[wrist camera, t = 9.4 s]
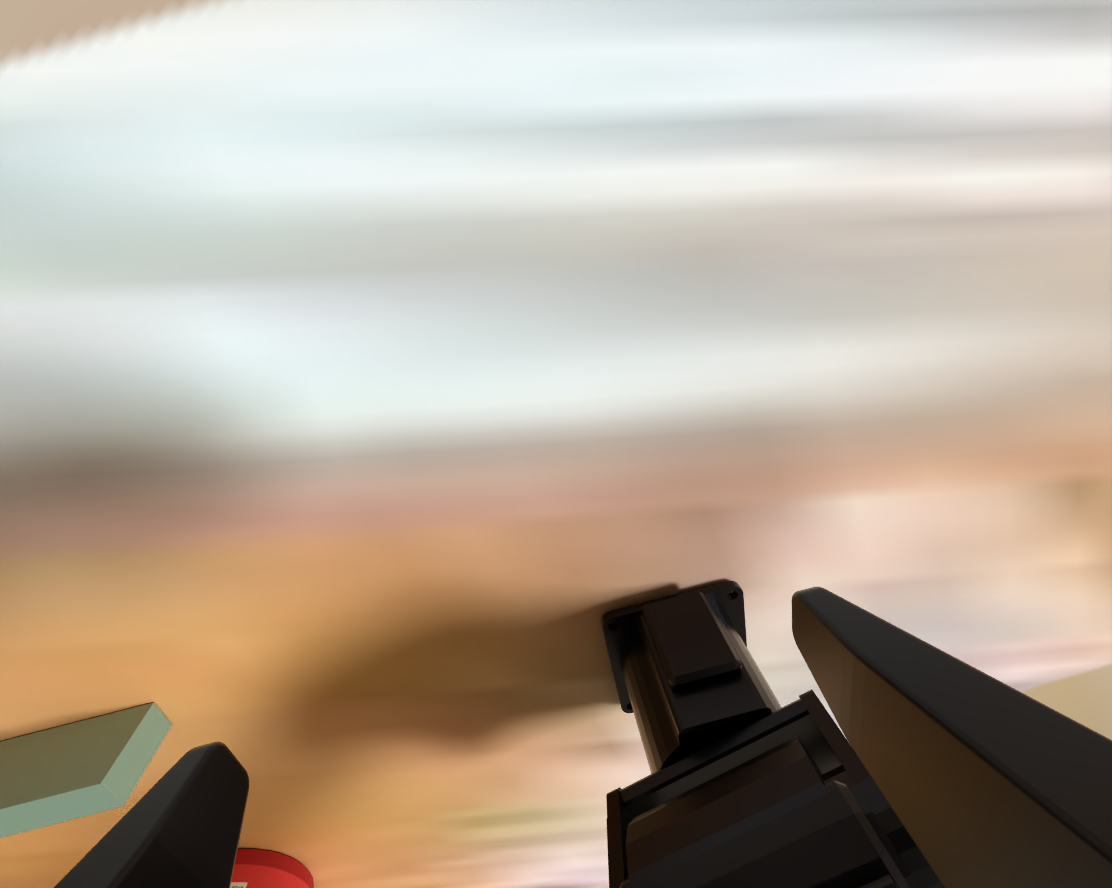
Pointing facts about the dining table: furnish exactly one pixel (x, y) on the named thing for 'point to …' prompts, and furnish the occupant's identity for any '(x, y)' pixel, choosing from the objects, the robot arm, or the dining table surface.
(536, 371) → the dining table surface
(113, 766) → the box
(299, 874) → the canned food
